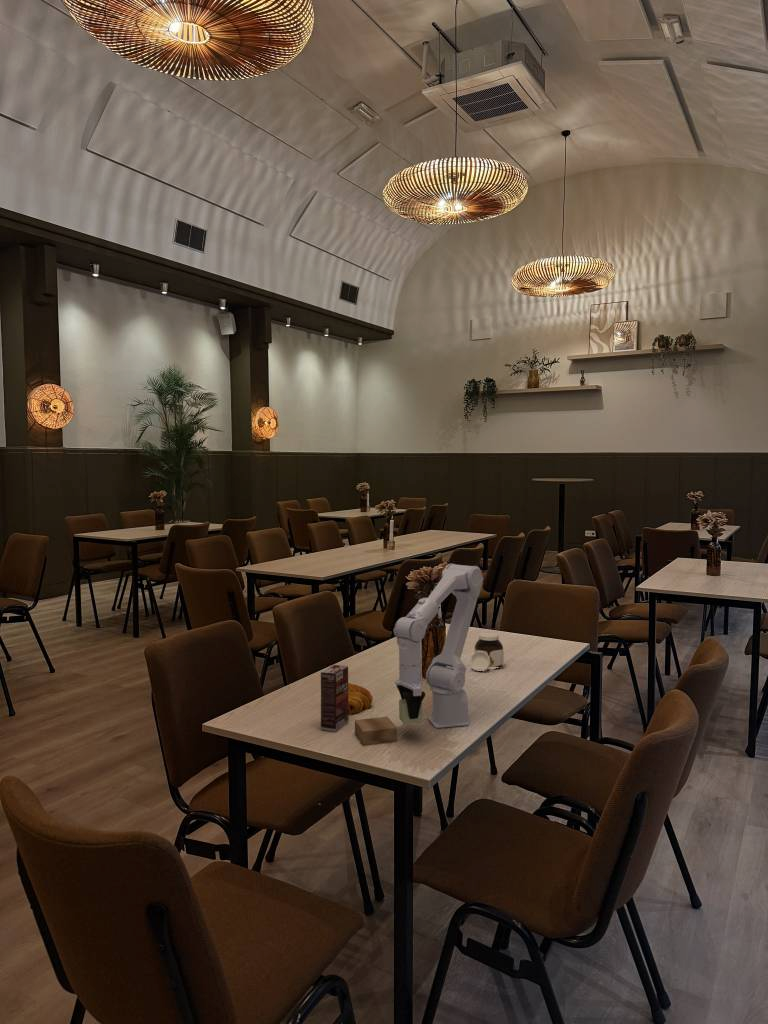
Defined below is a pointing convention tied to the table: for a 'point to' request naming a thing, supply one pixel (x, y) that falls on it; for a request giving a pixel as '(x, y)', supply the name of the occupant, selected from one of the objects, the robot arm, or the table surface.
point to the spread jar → (487, 652)
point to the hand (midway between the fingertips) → (410, 714)
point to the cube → (404, 713)
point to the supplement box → (334, 698)
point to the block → (375, 731)
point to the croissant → (358, 698)
